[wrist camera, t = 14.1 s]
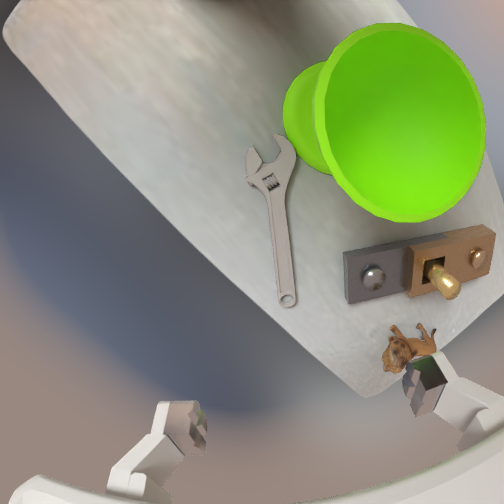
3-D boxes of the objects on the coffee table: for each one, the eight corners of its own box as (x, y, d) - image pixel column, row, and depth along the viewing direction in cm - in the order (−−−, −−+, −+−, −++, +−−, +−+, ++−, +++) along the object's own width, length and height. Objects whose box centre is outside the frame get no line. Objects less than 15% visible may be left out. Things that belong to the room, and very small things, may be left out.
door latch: (343, 252, 42) (353, 268, 38) (482, 224, 40) (499, 235, 36) (344, 297, 46) (354, 315, 41) (476, 263, 44) (491, 276, 39)
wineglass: (332, 200, 39) (388, 260, 23) (255, 106, 33) (264, 93, 17) (416, 134, 35) (505, 156, 18) (349, 39, 29) (419, -4, 13)
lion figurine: (369, 348, 51) (384, 382, 43) (374, 326, 49) (392, 361, 40) (431, 336, 51) (450, 366, 43) (438, 316, 49) (460, 345, 40)
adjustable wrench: (295, 301, 46) (297, 307, 45) (254, 303, 46) (254, 310, 45) (293, 134, 35) (295, 135, 34) (242, 137, 36) (242, 138, 34)
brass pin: (414, 252, 42) (446, 284, 33) (429, 249, 42) (462, 279, 33) (413, 268, 44) (443, 302, 35) (427, 265, 44) (459, 297, 34)
